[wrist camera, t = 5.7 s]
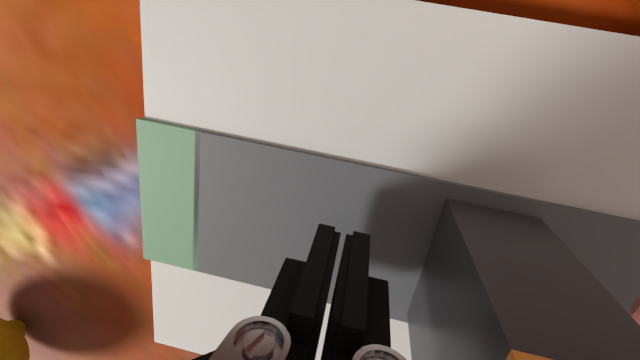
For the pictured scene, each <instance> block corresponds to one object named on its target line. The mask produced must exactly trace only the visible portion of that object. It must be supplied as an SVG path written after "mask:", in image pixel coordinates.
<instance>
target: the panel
mask: <svg viewBox="0 0 640 360" xmlns="http://www.w3.org/2000/svg"><path fill="white" fill-rule="evenodd" d="M140 16H141V39H142V62H143V86H144V109H145V119H144V118H137V119H136V127H137V146H138V165H139V184H140V202H141V221H142V240H143V258H144V259H148V260H151V272H152V296H153V319H154V342H157V343H161V344H165V345H169V346H172V347H176V348H180V349H184V350H187V351H191V352H195V353H199V354H202V355H205V354H207V353H209V352H212V351H214V350H216V349H217V348H218V346H219V345H220V343H221V342H222V341H223V339H224V338H225V337H226V335H227V334H228V333H229V331H230V330H231V329H232V328H233V327H234V326H235V325H236V324H237V323H238V322H240V321H242V320H243V319H245V318H249V317H253V316H260V315H261V313H262V311H263V308H264V306H265V304H266V301H267V299H268V297H269V295H270V292H271V290H272V288H273V285H274V283H275V281H276V279H277V276H278V274H279V272H280V270H281V267H282V265H283V263H284V261H285V259H286V258H292V259H296V260H300V261H305V262H306V261H307V258H308V255H309V252H310V249H311V246H312V243H313V240H314V237H315V234H316V231H317V228H318V225H319V223H320V224H325V225H329V226H334V227H335V231H336V232H340V233H341V235H340V240H339V245H338V250H337V255H336V260H335V265H334V270H333V275H332V280H331V284H330V289H329V294H328V299H327V304H326V309H325V314H324V319H323V324H322V328H321V333H320V338H319V343H318V347H317V352H316V357H315V360H321V355H322V349H323V344H324V339H325V333H326V328H327V323H328V317H329V312H330V307H331V302H332V297H333V292H334V288H335V283H336V279H337V274H338V269H339V265H340V260H341V255H342V251H343V246H344V242H345V237H346V234H349V235H353V231H356V232H361V233H366V234H370V256H369V277H374V278H378V279H382V280H387V281H388V285H389V309H390V335H391V349H393V350H395V351H397V352H398V353H400V354H401V355H402V356H403V357H404V358H406V360H412V358H411V348H410V338H409V328H408V318H407V313H408V310H409V307H410V304H411V301H412V298H413V295H414V292H415V289H416V286H417V283H418V281H419V278H420V275H421V272H422V269H423V266H424V263H425V260H426V257H427V254H428V251H429V248H430V245H431V242H432V239H433V237H434V234H435V231H436V228H437V225H438V222H439V219H440V216H441V213H442V210H443V207H444V204H445V201H446V199H450V200H455V201H460V202H465V203H469V204H474V205H479V206H484V207H488V208H493V209H498V210H503V211H507V212H512V213H517V214H522V215H527V216H531V217H536V218H541V219H542V220H543V221H544V222H545V223H546V224H547V226H548V227H549V228H550V229H551V230H552V231H553V232H554V233H555V234H556V235H557V236H558V237H559V239H560V240H561V241H562V242H563V243H564V244H565V245H566V246H567V247H568V248H569V249H570V250H571V252H572V253H573V254H574V255H575V256H576V257H577V258H578V259H579V260H580V261H581V262H582V263H583V265H584V266H585V267H586V268H587V269H588V270H589V271H590V272H591V273H592V274H593V275H594V276H595V278H596V279H597V280H598V281H599V282H600V283H601V284H602V285H603V286H604V287H605V288H606V289H607V291H608V292H609V293H610V294H611V295H612V296H613V297H614V298H615V299H616V300H617V301H618V303H619V304H620V305H621V306H622V307H623V308H624V309H625V310H626V311H627V312H628V313H629V314H630V316H631V317H632V318H633V319H634V320H635V321H636V322H637V323H638V324H639V325H640V37H639V36H633V35H627V34H621V33H615V32H608V31H602V30H596V29H590V28H584V27H577V26H571V25H565V24H559V23H553V22H546V21H540V20H534V19H528V18H522V17H515V16H509V15H503V14H497V13H491V12H484V11H478V10H472V9H466V8H460V7H453V6H447V5H441V4H435V3H429V2H422V1H416V0H140Z"/></svg>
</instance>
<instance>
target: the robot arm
mask: <svg viewBox="0 0 640 360" xmlns="http://www.w3.org/2000/svg"><path fill="white" fill-rule="evenodd" d="M340 235H341V233H340V232H336V231H335V227H334V226H329V225H325V224H320V223H319V225H318V228H317V231H316V234H315V237H314V240H313V243H312V246H311V249H310V252H309V255H308V258H307V261H306V262H305V261H300V260H296V259H292V258H286V259H285V261H284V263H283V265H282V267H281V270H280V272H279V274H278V276H277V279H276V281H275V283H274V285H273V288H272V290H271V292H270V295H269V297H268V299H267V301H266V304H265V306H264V308H263V311H262V313H261V315H260V316H253V317H249V318H245V319H243V320H242V321H240V322H238V323H237V324H236V325H235V326H234V327H233V328H232V329H231V330H230V331H229V333H228V334H227V335H226V337H225V338H224V339H223V341H222V342H221V343H220V345H219V346H218V348H217V349H216V350H214V351H212V352H209V353H207V354H205V355H202V356H200V357H197V358H195V359H192V360H315V357H316V352H317V347H318V343H319V338H320V333H321V328H322V324H323V319H324V314H325V309H326V304H327V299H328V294H329V289H330V284H331V280H332V275H333V270H334V265H335V260H336V255H337V250H338V245H339V240H340ZM369 256H370V234H366V233H361V232H356V231H353V235H349V234H346V237H345V242H344V246H343V251H342V255H341V260H340V265H339V269H338V274H337V279H336V283H335V288H334V292H333V297H332V302H331V307H330V312H329V317H328V323H327V328H326V333H325V339H324V344H323V349H322V355H321V360H406V358H404V357H403V356H402V355H401V354H400V353H398V352H397V351H395V350H393V349H391V335H390V309H389V285H388V281H387V280H382V279H378V278H374V277H369Z"/></svg>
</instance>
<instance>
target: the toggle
mask: <svg viewBox="0 0 640 360" xmlns="http://www.w3.org/2000/svg"><path fill="white" fill-rule="evenodd" d="M407 318H408V328H409V338H410V348H411V358H412V360H640V325H639V324H638V323H637V322H636V321H635V320H634V319H633V318H632V317H631V316H630V314H629V313H628V312H627V311H626V310H625V309H624V308H623V307H622V306H621V305H620V304H619V303H618V301H617V300H616V299H615V298H614V297H613V296H612V295H611V294H610V293H609V292H608V291H607V289H606V288H605V287H604V286H603V285H602V284H601V283H600V282H599V281H598V280H597V279H596V278H595V276H594V275H593V274H592V273H591V272H590V271H589V270H588V269H587V268H586V267H585V266H584V265H583V263H582V262H581V261H580V260H579V259H578V258H577V257H576V256H575V255H574V254H573V253H572V252H571V250H570V249H569V248H568V247H567V246H566V245H565V244H564V243H563V242H562V241H561V240H560V239H559V237H558V236H557V235H556V234H555V233H554V232H553V231H552V230H551V229H550V228H549V227H548V226H547V224H546V223H545V222H544V221H543V220H542V219H541V218H536V217H531V216H527V215H522V214H517V213H512V212H507V211H503V210H498V209H493V208H488V207H484V206H479V205H474V204H469V203H465V202H460V201H455V200H450V199H446V201H445V204H444V207H443V210H442V213H441V216H440V219H439V222H438V225H437V228H436V231H435V234H434V237H433V239H432V242H431V245H430V248H429V251H428V254H427V257H426V260H425V263H424V266H423V269H422V272H421V275H420V278H419V281H418V283H417V286H416V289H415V292H414V295H413V298H412V301H411V304H410V307H409V310H408V313H407Z"/></svg>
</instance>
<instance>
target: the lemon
mask: <svg viewBox="0 0 640 360" xmlns="http://www.w3.org/2000/svg"><path fill="white" fill-rule="evenodd" d="M25 329H26V326H25V324H24V323H23V322H22V321H19V320H10V321H6V320H3V319H1V318H0V360H29V356H30V355H29V346H28V343H27V340H26V338H25V337H24V336H25Z"/></svg>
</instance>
